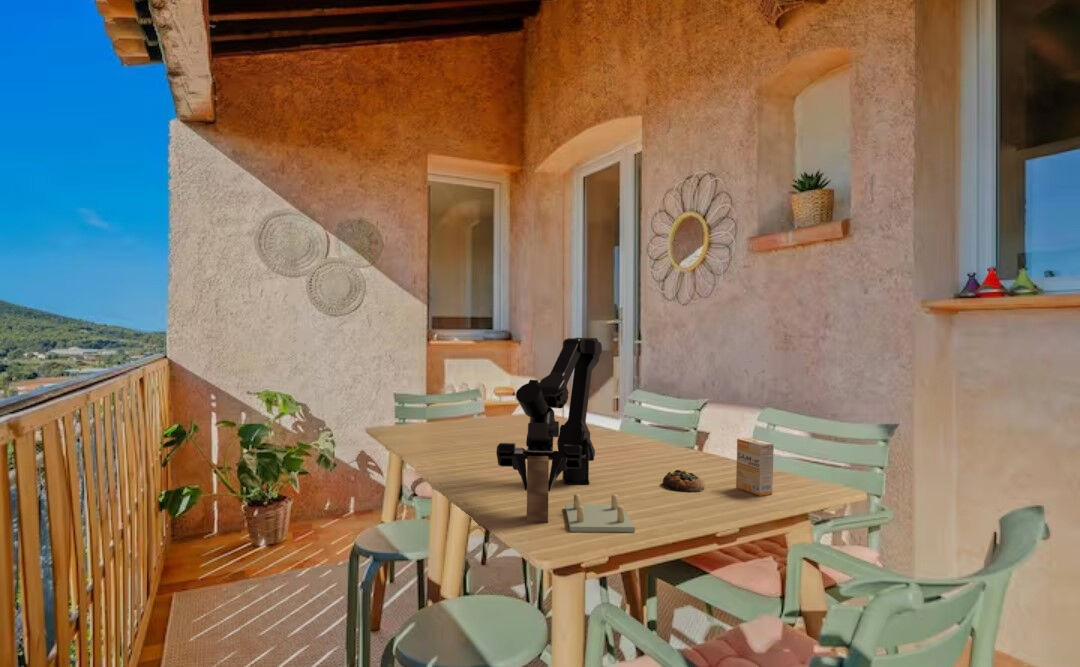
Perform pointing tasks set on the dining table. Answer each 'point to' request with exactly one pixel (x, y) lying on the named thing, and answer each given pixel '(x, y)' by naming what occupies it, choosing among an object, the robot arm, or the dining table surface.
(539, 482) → the walnut block
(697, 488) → the bread roll
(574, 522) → the pin plate
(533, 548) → the dining table surface
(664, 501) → the dining table surface
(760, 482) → the supplement box
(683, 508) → the dining table surface
